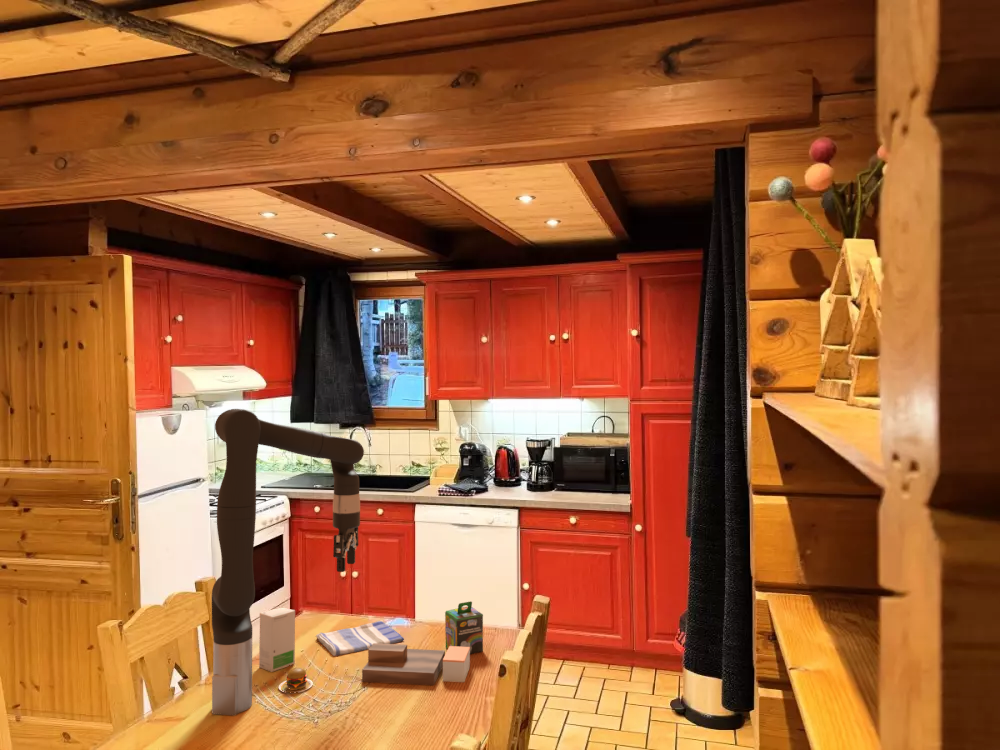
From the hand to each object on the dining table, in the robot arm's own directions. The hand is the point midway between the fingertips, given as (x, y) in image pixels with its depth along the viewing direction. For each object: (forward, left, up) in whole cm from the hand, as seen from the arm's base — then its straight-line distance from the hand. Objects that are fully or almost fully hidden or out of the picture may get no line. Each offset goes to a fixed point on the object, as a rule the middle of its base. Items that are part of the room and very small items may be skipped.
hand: (346, 567), depth 195 cm
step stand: (+4, -16, -30) cm, 34 cm away
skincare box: (+4, +22, -30) cm, 38 cm away
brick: (+4, -31, -24) cm, 39 cm away
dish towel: (+26, +4, -31) cm, 40 cm away
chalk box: (+22, -30, -30) cm, 48 cm away
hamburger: (-9, +11, -31) cm, 34 cm away
